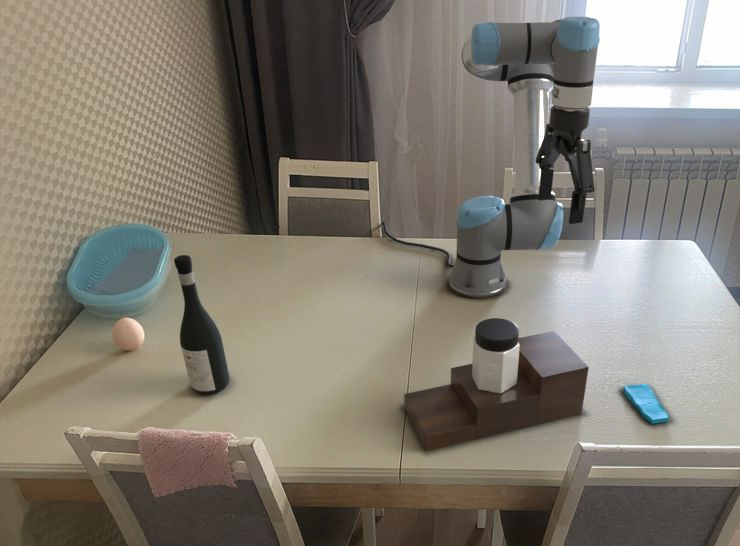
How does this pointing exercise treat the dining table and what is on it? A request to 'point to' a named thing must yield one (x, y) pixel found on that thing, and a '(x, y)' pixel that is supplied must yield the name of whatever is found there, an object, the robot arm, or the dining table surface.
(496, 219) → the robot arm
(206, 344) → the wine bottle
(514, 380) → the jar
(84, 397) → the dining table surface
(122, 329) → the egg
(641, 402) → the sponge
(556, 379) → the step shelf
